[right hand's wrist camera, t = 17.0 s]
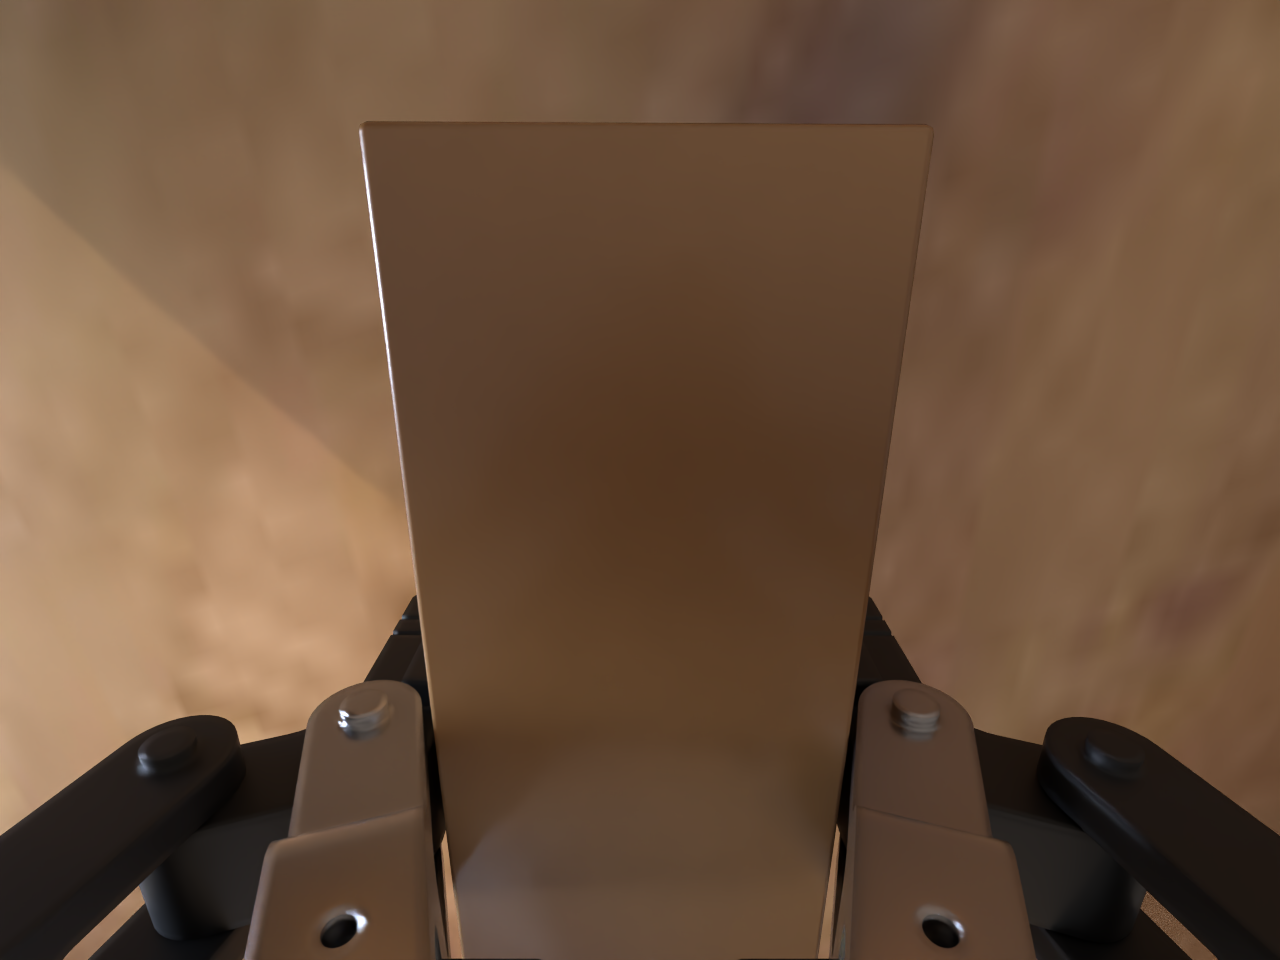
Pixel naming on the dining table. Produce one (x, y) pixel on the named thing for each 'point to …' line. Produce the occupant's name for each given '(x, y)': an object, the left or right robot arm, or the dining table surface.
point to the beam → (643, 508)
